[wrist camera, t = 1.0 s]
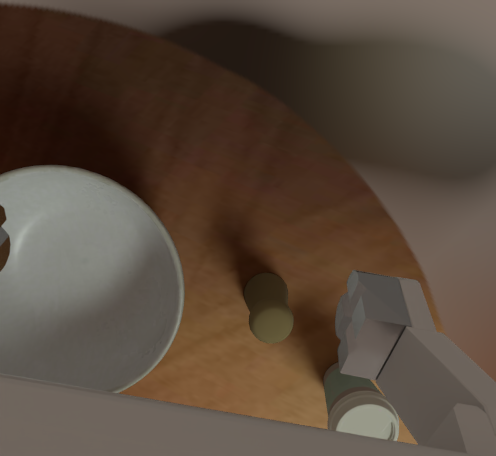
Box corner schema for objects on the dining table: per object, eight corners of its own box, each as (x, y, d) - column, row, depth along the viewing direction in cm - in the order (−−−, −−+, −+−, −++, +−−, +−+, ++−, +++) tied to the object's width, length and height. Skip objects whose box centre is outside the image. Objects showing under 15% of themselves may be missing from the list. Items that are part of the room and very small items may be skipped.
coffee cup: (329, 416, 66) (349, 476, 55) (303, 368, 65) (318, 419, 53) (383, 391, 66) (415, 446, 54) (358, 341, 64) (386, 387, 53)
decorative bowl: (136, 124, 58) (111, 121, 46) (227, 307, 63) (225, 346, 51) (-50, 212, 59) (-121, 231, 48) (53, 384, 64) (12, 440, 52)
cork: (263, 323, 63) (268, 361, 53) (234, 291, 62) (234, 324, 52) (297, 296, 63) (309, 329, 52) (268, 263, 62) (275, 290, 51)
